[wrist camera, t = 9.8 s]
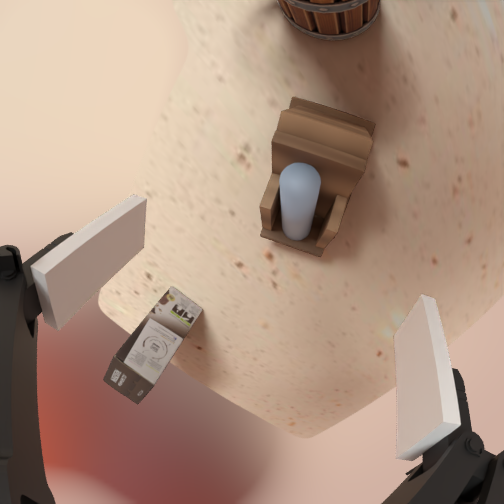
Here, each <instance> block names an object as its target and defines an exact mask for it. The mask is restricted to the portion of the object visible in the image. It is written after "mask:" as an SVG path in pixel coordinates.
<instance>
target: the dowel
mask: <svg viewBox="0 0 504 504" xmlns="http://www.w3.org/2000/svg"><path fill="white" fill-rule="evenodd" d="M279 183H280V198H281V214H282V229H283V232H284V234H285V235H286V236H287V237H288V238H289V239H291V240H296V241H298V240H302V239H304V238H306V237H307V236H308V235H309V233H310V230H311V226H312V222H313V217H314V213H315V208H316V204H317V199H318V194H319V190H320V185H321V179H320V175H319V173H318V172H317V170H316V169H315V168H314V167H312V166H311V165H308V164H306V163H293V164H291V165H289V166H287V167H286V168H285V169H284V170H283V171H282V173H281V175H280V179H279Z"/></svg>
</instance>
